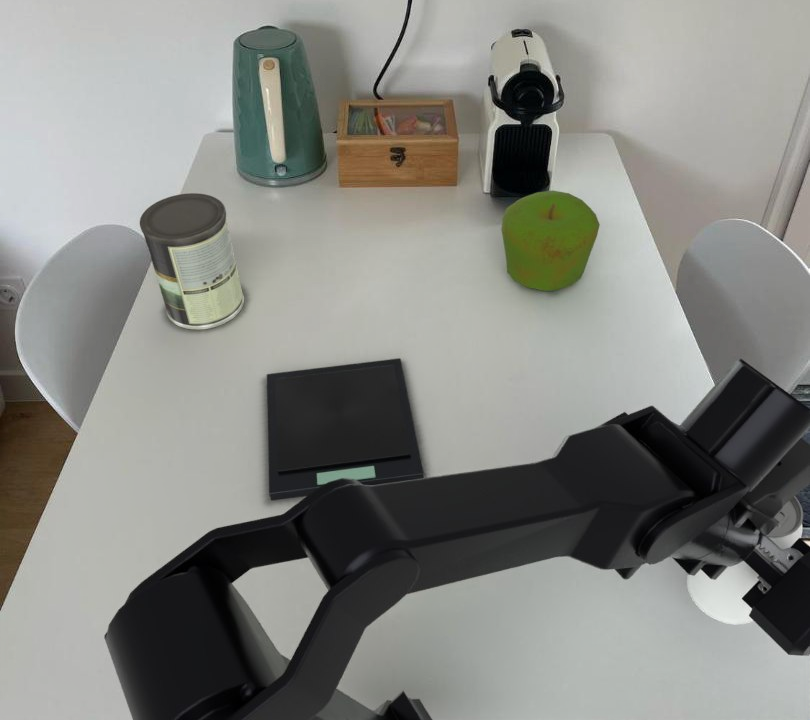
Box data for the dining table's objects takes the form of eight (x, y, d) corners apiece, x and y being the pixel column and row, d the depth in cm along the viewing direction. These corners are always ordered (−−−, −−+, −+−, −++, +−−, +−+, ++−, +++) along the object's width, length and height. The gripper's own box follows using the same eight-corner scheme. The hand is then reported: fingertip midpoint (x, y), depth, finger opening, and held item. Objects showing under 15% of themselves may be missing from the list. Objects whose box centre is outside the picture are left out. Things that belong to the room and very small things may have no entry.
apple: (513, 242, 116) (518, 172, 108) (599, 258, 112) (610, 187, 105) (487, 293, 108) (491, 221, 100) (579, 312, 104) (589, 239, 96)
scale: (424, 480, 85) (423, 471, 84) (270, 501, 84) (268, 491, 82) (400, 365, 98) (400, 355, 97) (268, 381, 97) (266, 371, 96)
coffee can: (153, 326, 105) (124, 234, 95) (185, 278, 112) (161, 189, 103) (228, 334, 103) (206, 242, 94) (255, 286, 111) (237, 196, 101)
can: (710, 547, 72) (745, 458, 64) (779, 592, 69) (825, 505, 61) (670, 593, 69) (702, 505, 61) (740, 642, 66) (783, 557, 57)
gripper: (901, 524, 46) (940, 550, 57) (664, 341, 58) (735, 393, 69) (766, 662, 48) (829, 660, 60) (565, 459, 60) (649, 490, 72)
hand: (757, 540), depth 65 cm, fingers closed on can, 6 cm apart
